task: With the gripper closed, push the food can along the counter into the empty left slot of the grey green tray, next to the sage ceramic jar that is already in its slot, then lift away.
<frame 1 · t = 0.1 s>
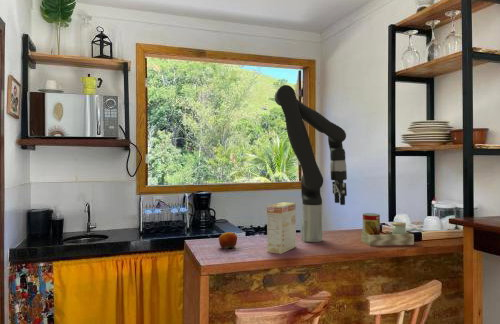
hand: (339, 203, 177), 17 cm above the countertop, tool pointing down, fingers open, 8 cm apart
coffeecake box: (282, 249, 158), on the countertop
grey green tray: (387, 242, 169), on the countertop
fruit: (228, 248, 162), on the countertop
jar: (399, 242, 170), resting in grey green tray
canned food: (371, 239, 178), on the countertop
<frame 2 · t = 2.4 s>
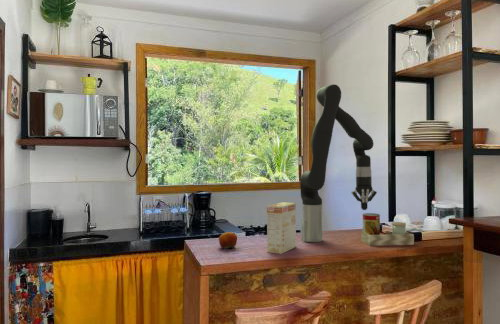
hand: (364, 209, 188), 13 cm above the countertop, tool pointing down, fingers closed
nothing on the countertop moved.
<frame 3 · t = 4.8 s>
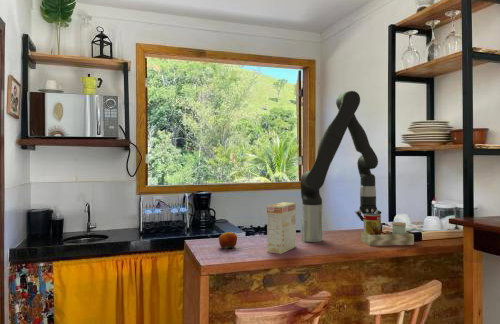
hand: (368, 230, 182), 4 cm above the countertop, tool pointing down, fingers closed
canned food: (372, 239, 177), on the countertop, touching gripper
everything else where it was.
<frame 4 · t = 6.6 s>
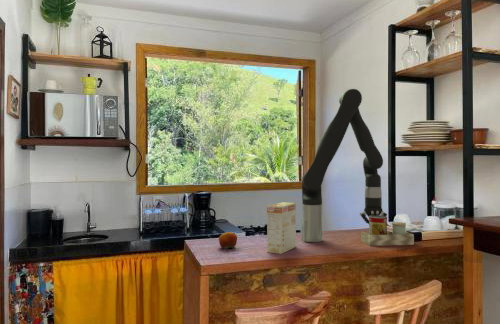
hand: (373, 232, 175), 4 cm above the countertop, tool pointing down, fingers closed
canned food: (378, 242, 170), on the countertop, touching gripper
everything else where it was.
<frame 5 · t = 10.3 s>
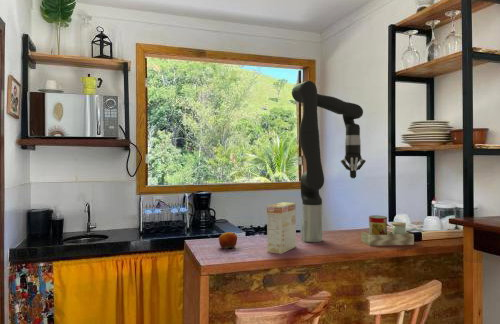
hand: (353, 178, 189), 29 cm above the countertop, tool pointing down, fingers closed
canned food: (378, 242, 170), on the countertop
everything else where it was.
at the end: canned food inside the target area (0.9 cm from its centre), on the countertop; canned food tilted 0°; jar moved 0.0 cm from its start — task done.
